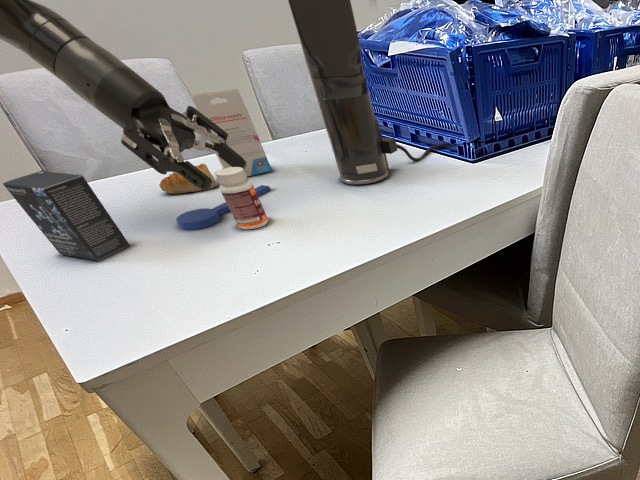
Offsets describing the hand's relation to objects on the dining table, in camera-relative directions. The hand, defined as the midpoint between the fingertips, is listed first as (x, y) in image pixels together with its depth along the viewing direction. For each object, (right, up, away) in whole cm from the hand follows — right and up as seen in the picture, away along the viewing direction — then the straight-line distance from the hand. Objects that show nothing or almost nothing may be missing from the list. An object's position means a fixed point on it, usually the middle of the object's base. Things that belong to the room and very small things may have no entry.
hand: (227, 176), depth 70 cm
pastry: (-19, +7, +19) cm, 28 cm away
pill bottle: (+1, -6, +5) cm, 8 cm away
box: (-20, -12, -1) cm, 23 cm away
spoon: (-7, -1, +10) cm, 12 cm away
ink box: (-12, +13, +24) cm, 30 cm away
